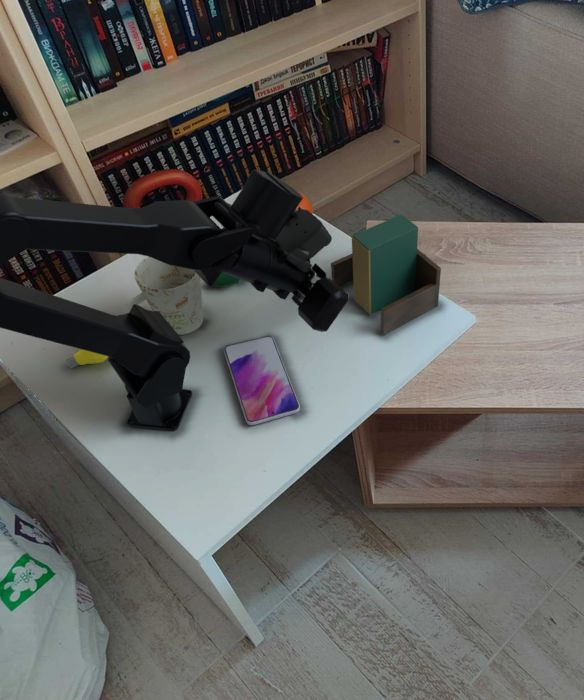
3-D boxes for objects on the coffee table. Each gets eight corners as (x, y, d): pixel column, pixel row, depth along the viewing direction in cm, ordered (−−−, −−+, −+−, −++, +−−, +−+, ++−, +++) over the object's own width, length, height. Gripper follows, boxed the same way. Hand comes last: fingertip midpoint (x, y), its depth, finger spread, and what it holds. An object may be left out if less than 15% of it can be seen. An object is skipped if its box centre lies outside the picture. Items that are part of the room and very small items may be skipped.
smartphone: (272, 333, 99) (301, 408, 90) (272, 337, 99) (301, 413, 91) (221, 345, 96) (246, 424, 87) (222, 349, 97) (247, 428, 88)
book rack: (383, 335, 102) (384, 297, 96) (332, 286, 108) (329, 247, 102) (437, 306, 107) (441, 268, 101) (385, 261, 114) (386, 222, 108)
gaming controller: (221, 299, 106) (243, 285, 103) (202, 283, 105) (223, 267, 101) (246, 263, 113) (267, 248, 109) (228, 247, 111) (249, 232, 107)
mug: (223, 318, 101) (211, 267, 94) (154, 367, 94) (134, 316, 86) (185, 294, 104) (171, 242, 97) (115, 339, 96) (93, 288, 89)
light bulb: (112, 342, 95) (118, 359, 93) (72, 362, 94) (76, 380, 92) (98, 328, 92) (104, 346, 90) (56, 349, 91) (61, 368, 89)
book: (369, 315, 104) (368, 250, 95) (354, 301, 106) (351, 235, 97) (415, 292, 109) (418, 227, 100) (399, 278, 111) (401, 213, 101)
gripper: (332, 245, 79) (403, 280, 93) (250, 171, 87) (326, 213, 101) (280, 321, 81) (357, 344, 94) (204, 241, 89) (285, 273, 103)
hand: (331, 290), depth 98 cm, fingers closed
